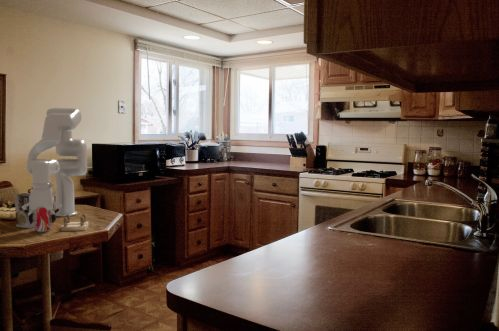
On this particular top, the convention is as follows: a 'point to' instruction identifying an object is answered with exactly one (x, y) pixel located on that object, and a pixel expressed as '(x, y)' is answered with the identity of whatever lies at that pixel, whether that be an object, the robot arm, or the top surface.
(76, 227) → the peg stand
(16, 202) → the coffee box
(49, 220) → the soda can
